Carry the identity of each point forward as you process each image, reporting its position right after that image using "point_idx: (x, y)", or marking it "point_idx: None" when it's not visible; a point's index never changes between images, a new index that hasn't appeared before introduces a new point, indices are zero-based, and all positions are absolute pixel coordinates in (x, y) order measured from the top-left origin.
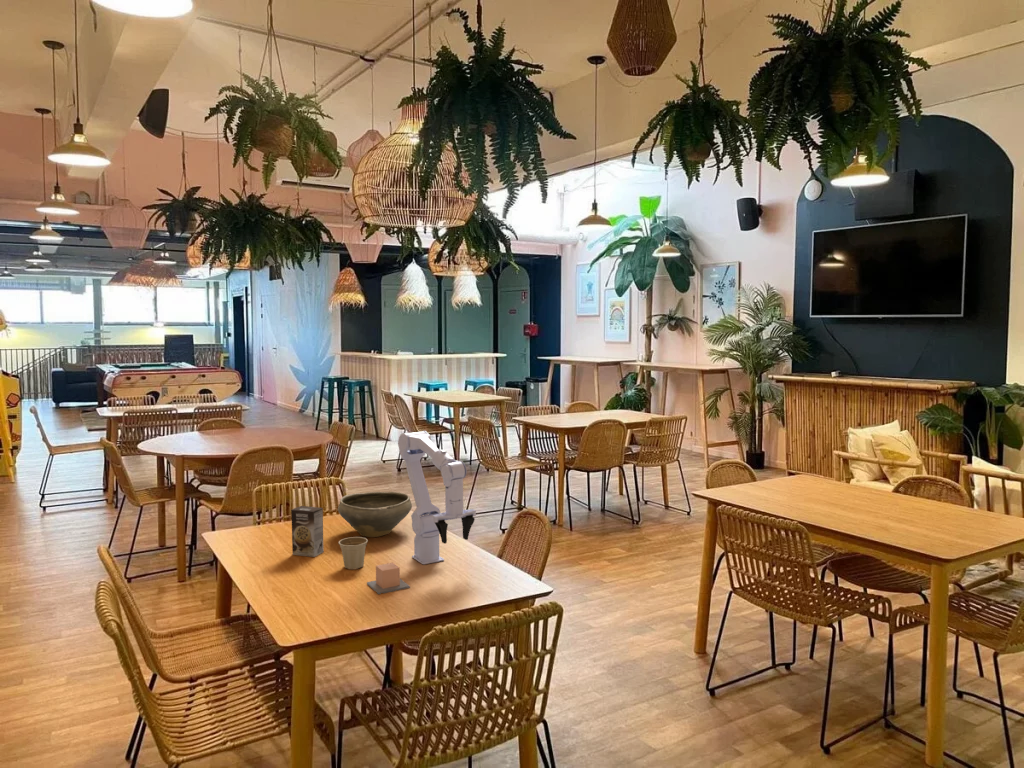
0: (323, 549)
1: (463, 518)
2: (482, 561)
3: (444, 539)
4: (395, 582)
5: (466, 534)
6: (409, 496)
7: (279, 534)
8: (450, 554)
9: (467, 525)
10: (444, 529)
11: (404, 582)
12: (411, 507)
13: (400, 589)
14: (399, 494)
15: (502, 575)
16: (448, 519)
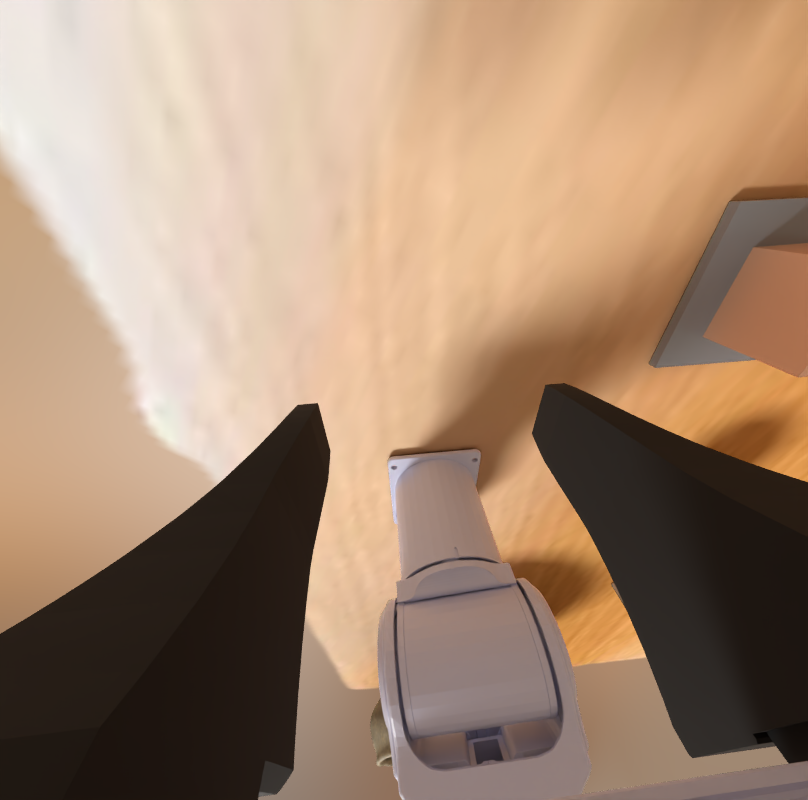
0: (615, 589)
1: (264, 753)
2: (226, 394)
3: (602, 403)
4: (800, 247)
5: (300, 438)
6: (377, 761)
7: (594, 643)
8: (340, 498)
9: (239, 554)
10: (783, 492)
11: (706, 274)
12: (380, 714)
13: (783, 198)
14: (389, 758)
15: (103, 68)
16: (743, 786)
